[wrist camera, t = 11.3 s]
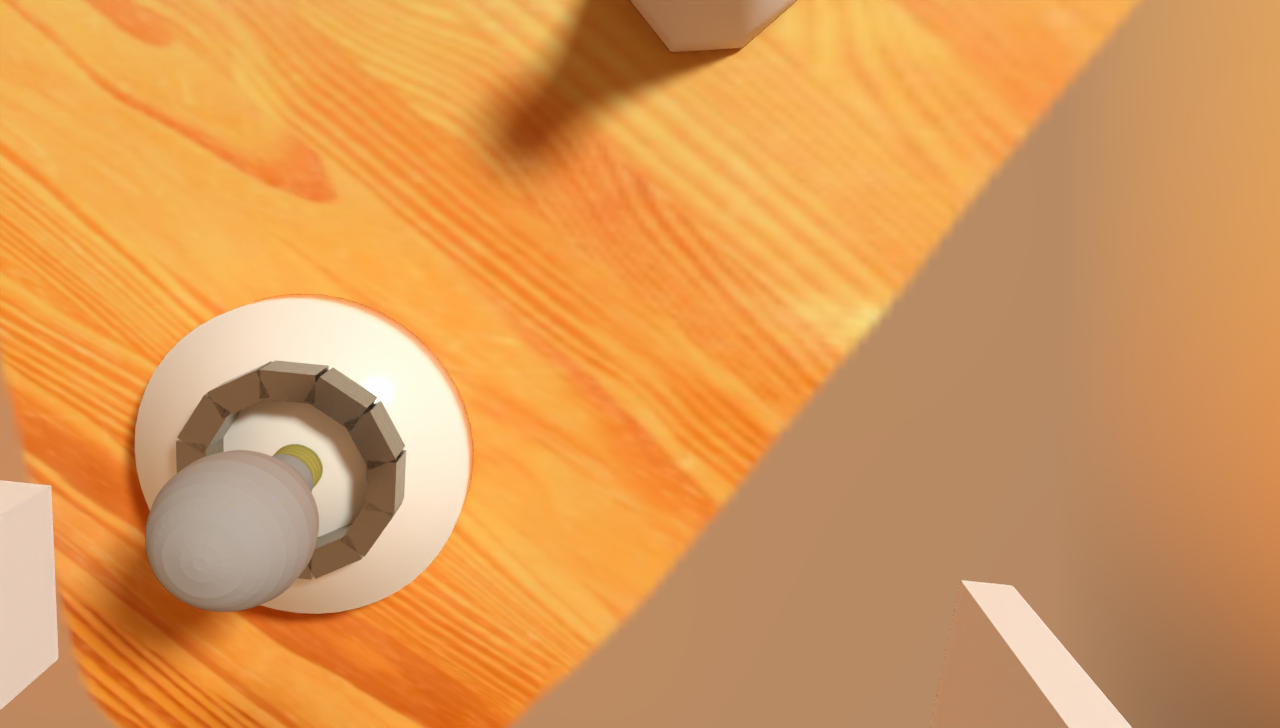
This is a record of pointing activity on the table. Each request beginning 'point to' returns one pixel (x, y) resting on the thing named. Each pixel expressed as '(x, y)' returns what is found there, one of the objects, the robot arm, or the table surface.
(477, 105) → the table surface
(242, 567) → the light bulb
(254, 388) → the socket collar
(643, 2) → the flask
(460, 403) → the socket base
